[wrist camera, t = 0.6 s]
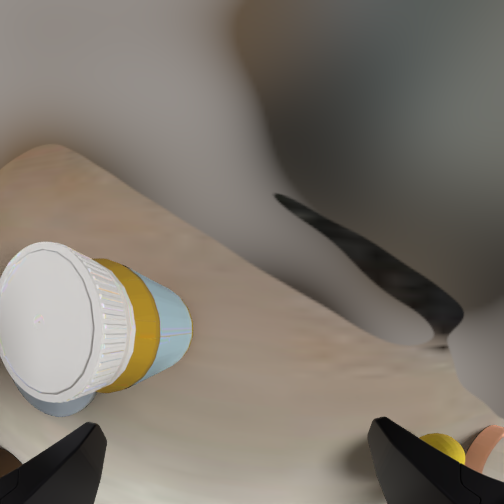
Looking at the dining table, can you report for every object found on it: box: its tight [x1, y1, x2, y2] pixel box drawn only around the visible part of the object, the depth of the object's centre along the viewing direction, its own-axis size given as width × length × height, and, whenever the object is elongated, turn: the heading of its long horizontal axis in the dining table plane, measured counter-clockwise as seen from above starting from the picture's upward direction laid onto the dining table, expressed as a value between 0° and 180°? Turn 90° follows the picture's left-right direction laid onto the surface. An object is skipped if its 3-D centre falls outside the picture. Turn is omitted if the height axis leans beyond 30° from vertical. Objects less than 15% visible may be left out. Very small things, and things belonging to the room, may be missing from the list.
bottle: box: [0, 242, 193, 403], centre depth 15 cm, size 7×7×15 cm
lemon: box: [420, 433, 465, 465], centre depth 16 cm, size 6×6×8 cm
